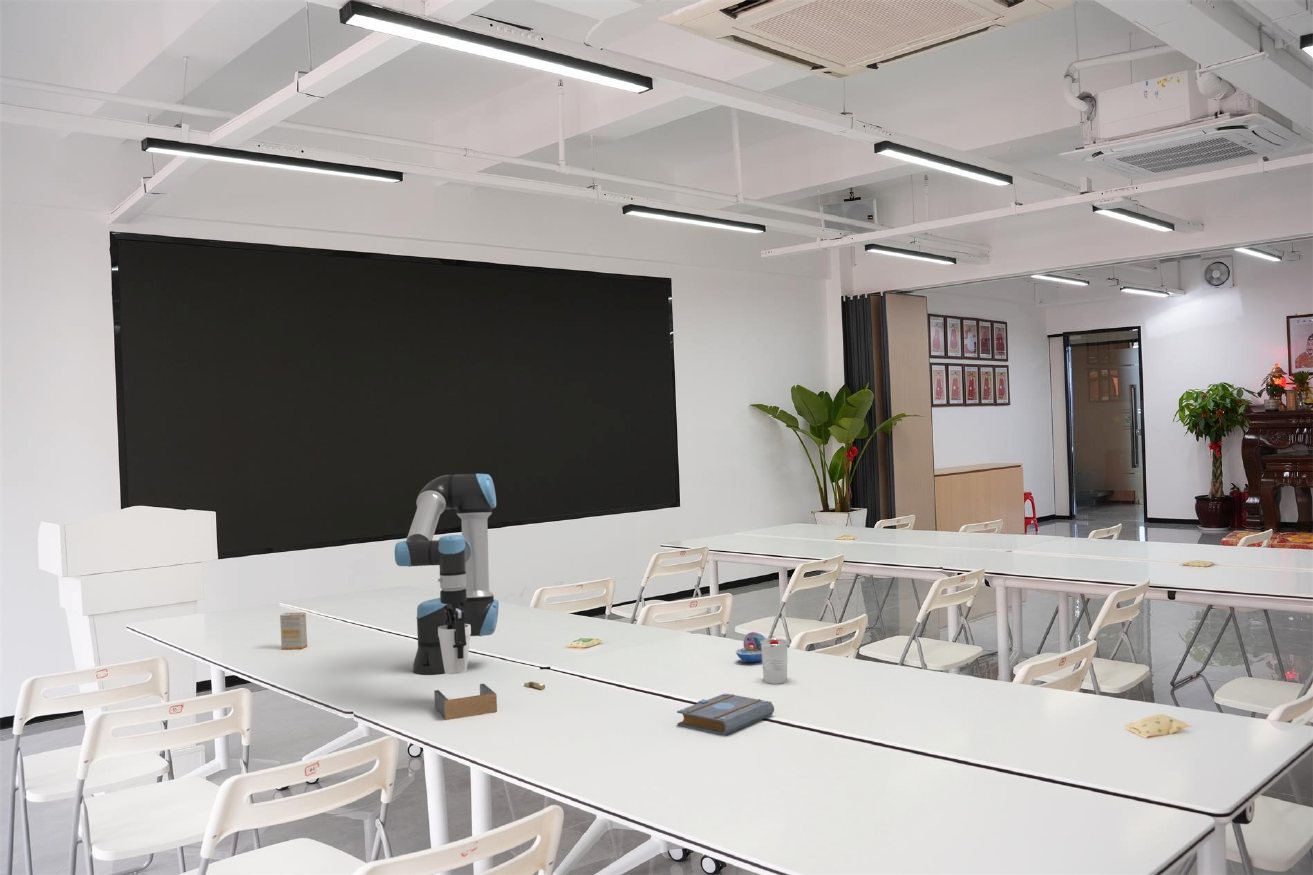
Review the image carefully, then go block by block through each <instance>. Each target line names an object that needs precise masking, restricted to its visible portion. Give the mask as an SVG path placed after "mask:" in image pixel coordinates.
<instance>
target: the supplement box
mask: <svg viewBox="0 0 1313 875" xmlns="http://www.w3.org/2000/svg"><path fill="white" fill-rule="evenodd" d="M279 618H280V620H279V622H280V642H281V643H280V644H281V650H303V649H305V648H307V647H308V637H307V636H308V635H307V613H306V612H285V613H282V614H280V615H279Z"/></svg>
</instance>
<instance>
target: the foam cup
mask: <svg viewBox="0 0 1313 875" xmlns="http://www.w3.org/2000/svg"><path fill="white" fill-rule="evenodd" d="M464 625H465V636H466V645H465V646H464V657H465V669H462V670H455V657H454V648H453V645H455V640H454V631H455V632H456V630H455V629H447V625H443V626H440V627H438V637H439V640H440V646H441V652H442V658H443V665H444V671H445V673H444V674H448V675H457V674H464V673H465V672H467V670H468V661H469V651H470V642H471V641H470V640H471V636H470V634H471V626H470V625H469V624H464ZM459 642H461V641H459Z"/></svg>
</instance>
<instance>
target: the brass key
mask: <svg viewBox="0 0 1313 875" xmlns="http://www.w3.org/2000/svg"><path fill="white" fill-rule="evenodd" d="M523 687H524V688H533V689H537V690H541V691H543V690H545V688H546V685H545V684H543V683H538V682H535V681H528V682H524V683H523Z"/></svg>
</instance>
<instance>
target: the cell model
mask: <svg viewBox="0 0 1313 875" xmlns="http://www.w3.org/2000/svg"><path fill="white" fill-rule="evenodd" d="M743 638H744V639H743V642H742V643H743V647H741V648H739V649H736V650H735V654H736V655H737V657H738V658H739V659H740V660H741V661H743V662H746V663H757V662H760V661H762V651H761V645H758V644H761V643H760V641H761V640H765V639H767V638H766V637H765V636H764V635H763V634H762V633H759V632H755V631H750V632H748V633H747V634H745V636H744V637H743Z"/></svg>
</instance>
